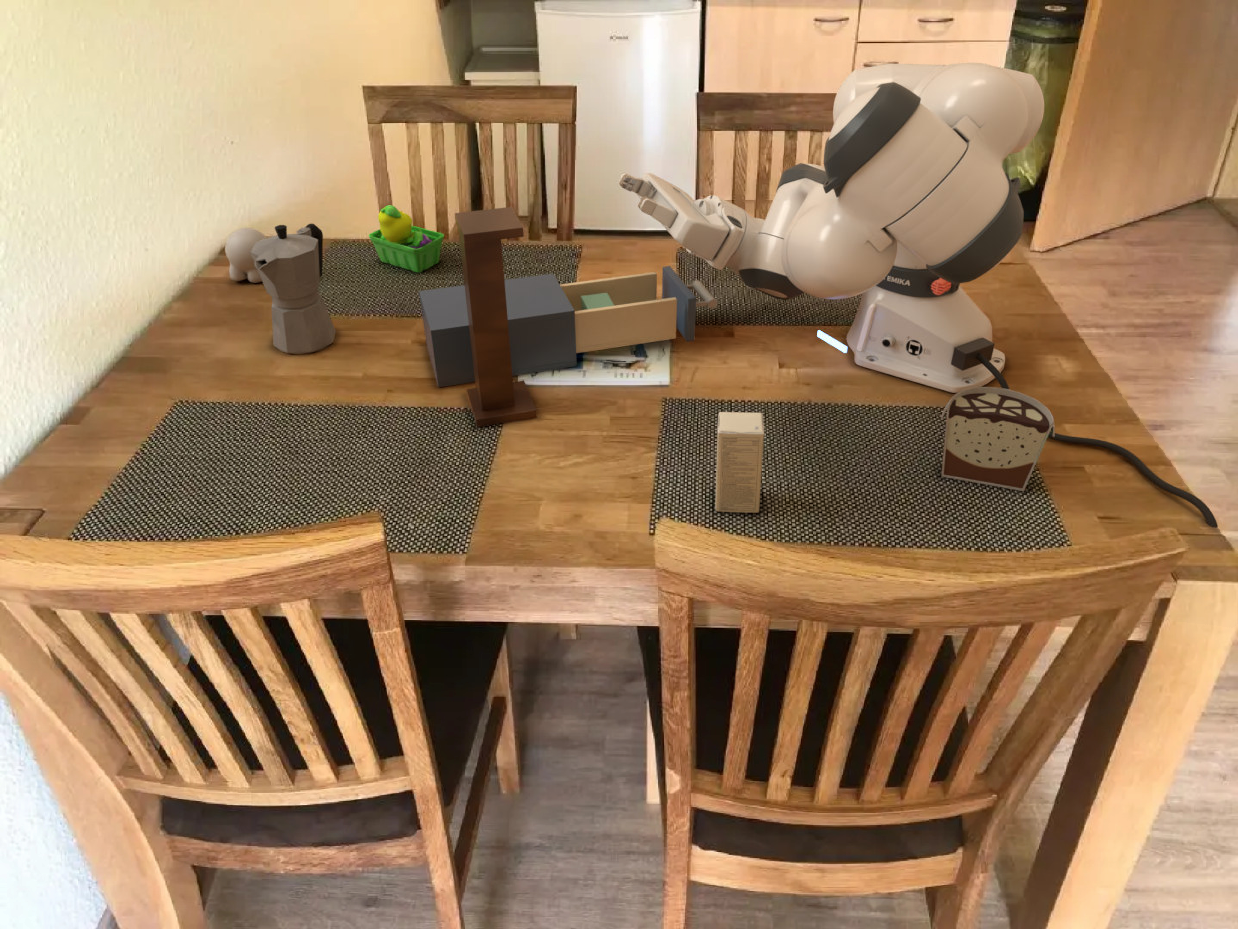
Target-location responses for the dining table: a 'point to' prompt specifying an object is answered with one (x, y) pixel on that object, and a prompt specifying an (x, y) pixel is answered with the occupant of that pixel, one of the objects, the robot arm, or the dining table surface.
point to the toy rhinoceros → (243, 254)
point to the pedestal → (490, 317)
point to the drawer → (636, 310)
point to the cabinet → (533, 323)
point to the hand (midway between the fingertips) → (631, 190)
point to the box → (739, 462)
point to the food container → (994, 436)
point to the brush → (595, 301)
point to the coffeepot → (295, 288)
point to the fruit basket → (405, 241)
